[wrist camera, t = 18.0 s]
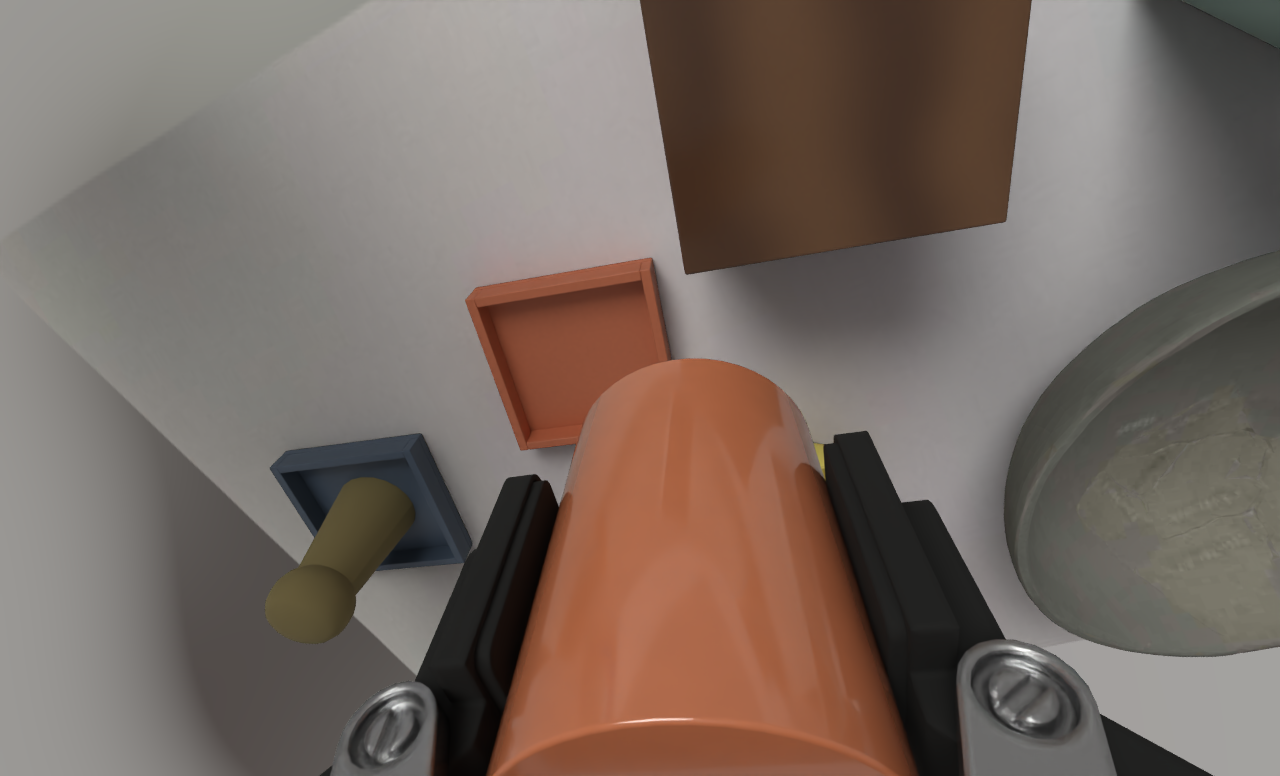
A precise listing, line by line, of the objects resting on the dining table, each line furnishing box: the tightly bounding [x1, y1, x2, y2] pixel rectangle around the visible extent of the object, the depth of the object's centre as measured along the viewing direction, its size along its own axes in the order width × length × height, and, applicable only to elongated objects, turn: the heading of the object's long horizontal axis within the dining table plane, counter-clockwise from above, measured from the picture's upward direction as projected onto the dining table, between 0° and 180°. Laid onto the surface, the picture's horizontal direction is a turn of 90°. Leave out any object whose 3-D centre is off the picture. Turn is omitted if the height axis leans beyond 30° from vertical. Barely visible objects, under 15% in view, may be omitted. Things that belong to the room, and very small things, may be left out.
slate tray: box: [270, 434, 472, 571], centre depth 45 cm, size 11×11×2 cm
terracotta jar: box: [486, 358, 920, 776], centre depth 9 cm, size 5×5×7 cm
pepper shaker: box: [265, 477, 415, 644], centre depth 41 cm, size 6×6×11 cm
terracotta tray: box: [465, 258, 672, 450], centre depth 37 cm, size 11×11×2 cm
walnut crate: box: [640, 0, 1032, 275], centre depth 24 cm, size 12×12×11 cm
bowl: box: [1004, 251, 1280, 657], centre depth 32 cm, size 26×26×10 cm
